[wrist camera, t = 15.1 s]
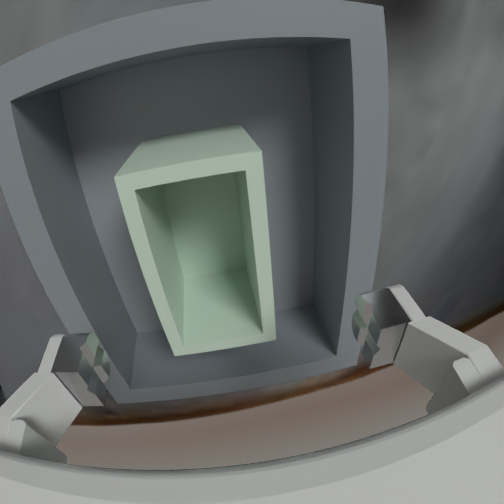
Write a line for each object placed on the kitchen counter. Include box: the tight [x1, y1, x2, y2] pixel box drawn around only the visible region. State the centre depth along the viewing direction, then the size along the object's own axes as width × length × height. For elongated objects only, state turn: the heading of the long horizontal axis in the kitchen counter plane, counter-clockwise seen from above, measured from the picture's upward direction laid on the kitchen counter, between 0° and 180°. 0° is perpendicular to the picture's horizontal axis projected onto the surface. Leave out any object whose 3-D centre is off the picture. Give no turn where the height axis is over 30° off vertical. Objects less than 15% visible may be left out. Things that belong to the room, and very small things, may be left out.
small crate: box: [114, 124, 276, 356], centre depth 15 cm, size 5×9×6 cm, turn 6°
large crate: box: [0, 0, 389, 404], centre depth 16 cm, size 16×20×6 cm
